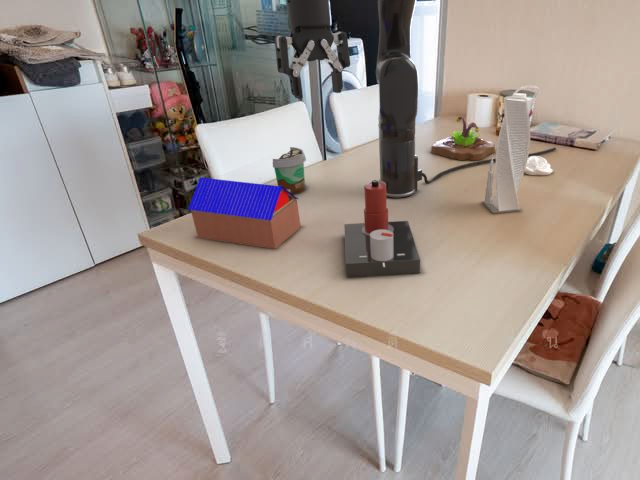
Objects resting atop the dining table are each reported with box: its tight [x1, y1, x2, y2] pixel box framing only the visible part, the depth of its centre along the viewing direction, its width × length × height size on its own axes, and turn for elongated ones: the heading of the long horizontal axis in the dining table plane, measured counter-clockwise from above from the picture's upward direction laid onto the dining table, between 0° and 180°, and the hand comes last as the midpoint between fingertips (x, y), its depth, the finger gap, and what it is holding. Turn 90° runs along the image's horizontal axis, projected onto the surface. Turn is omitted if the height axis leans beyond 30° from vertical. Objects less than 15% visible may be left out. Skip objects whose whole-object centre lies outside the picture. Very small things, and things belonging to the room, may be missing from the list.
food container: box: [272, 146, 307, 196], centre depth 123 cm, size 12×6×10 cm, turn 168°
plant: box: [430, 116, 496, 162], centre depth 154 cm, size 20×20×11 cm
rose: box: [524, 155, 554, 176], centre depth 138 cm, size 10×4×10 cm
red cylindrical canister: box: [363, 179, 389, 233], centre depth 94 cm, size 5×5×10 cm
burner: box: [362, 224, 394, 236], centre depth 97 cm, size 7×7×1 cm
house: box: [187, 177, 302, 250], centre depth 100 cm, size 12×20×12 cm, turn 73°
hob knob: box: [370, 229, 394, 261], centre depth 86 cm, size 4×4×5 cm
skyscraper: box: [482, 84, 540, 215], centre depth 107 cm, size 8×8×28 cm
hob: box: [343, 220, 421, 279], centre depth 93 cm, size 20×14×3 cm
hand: (318, 95), depth 89 cm, fingers open, 8 cm apart
